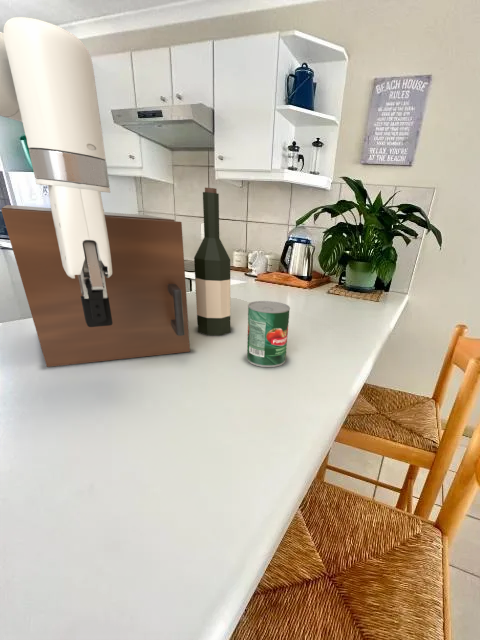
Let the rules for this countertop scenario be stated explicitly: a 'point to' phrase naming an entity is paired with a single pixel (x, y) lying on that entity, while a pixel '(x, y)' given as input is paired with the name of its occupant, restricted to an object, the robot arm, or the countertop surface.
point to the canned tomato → (267, 333)
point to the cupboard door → (122, 289)
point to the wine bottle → (212, 273)
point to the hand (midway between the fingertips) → (99, 324)
